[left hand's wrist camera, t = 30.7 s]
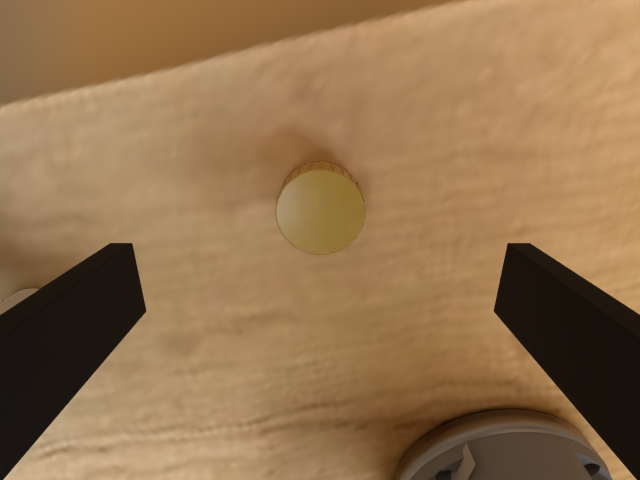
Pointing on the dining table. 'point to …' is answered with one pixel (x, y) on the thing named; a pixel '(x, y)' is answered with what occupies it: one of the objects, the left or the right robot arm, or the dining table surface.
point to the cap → (320, 208)
